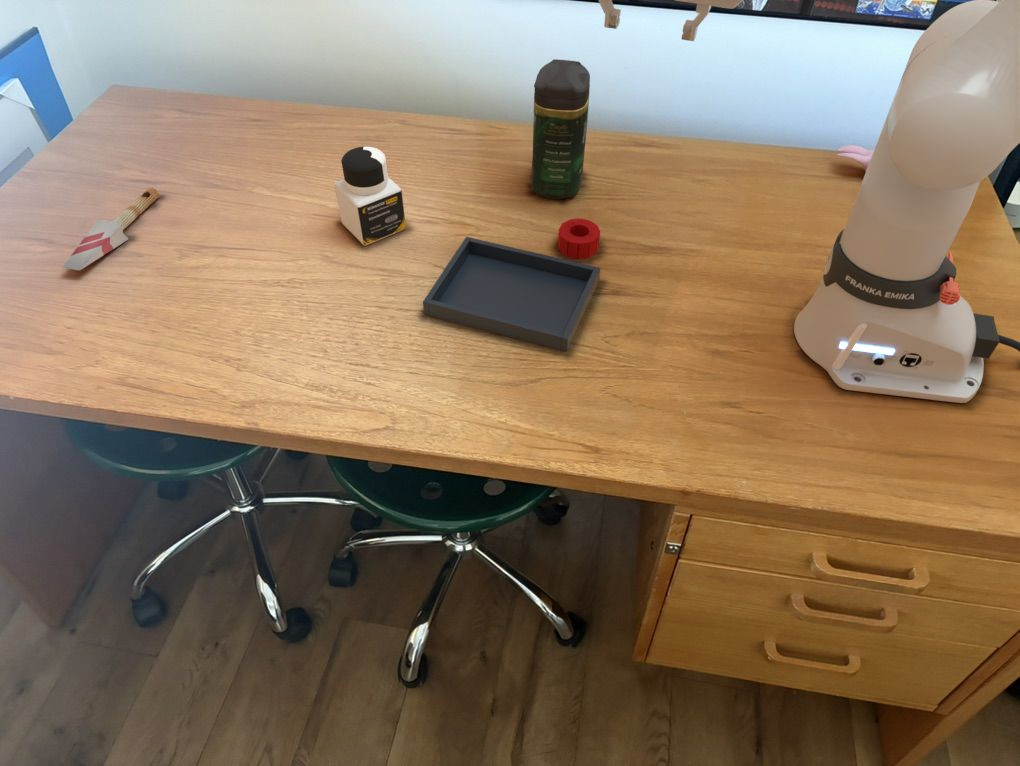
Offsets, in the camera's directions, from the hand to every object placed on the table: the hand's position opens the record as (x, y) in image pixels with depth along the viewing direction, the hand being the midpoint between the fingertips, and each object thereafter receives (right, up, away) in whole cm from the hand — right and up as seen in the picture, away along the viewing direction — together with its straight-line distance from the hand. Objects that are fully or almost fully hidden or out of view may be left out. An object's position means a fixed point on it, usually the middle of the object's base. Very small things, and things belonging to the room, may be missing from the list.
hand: (649, 32), depth 95 cm
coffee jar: (-9, -11, +30) cm, 33 cm away
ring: (-7, -23, +19) cm, 30 cm away
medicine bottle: (-37, -19, +22) cm, 47 cm away
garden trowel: (-74, -21, +21) cm, 80 cm away
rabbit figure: (+42, -9, +31) cm, 53 cm away
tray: (-16, -31, +11) cm, 37 cm away
